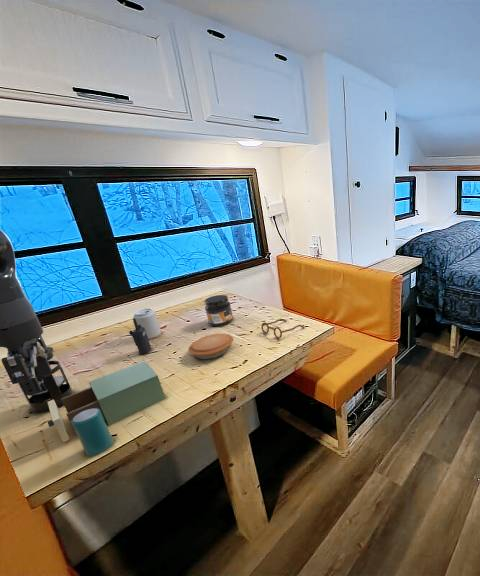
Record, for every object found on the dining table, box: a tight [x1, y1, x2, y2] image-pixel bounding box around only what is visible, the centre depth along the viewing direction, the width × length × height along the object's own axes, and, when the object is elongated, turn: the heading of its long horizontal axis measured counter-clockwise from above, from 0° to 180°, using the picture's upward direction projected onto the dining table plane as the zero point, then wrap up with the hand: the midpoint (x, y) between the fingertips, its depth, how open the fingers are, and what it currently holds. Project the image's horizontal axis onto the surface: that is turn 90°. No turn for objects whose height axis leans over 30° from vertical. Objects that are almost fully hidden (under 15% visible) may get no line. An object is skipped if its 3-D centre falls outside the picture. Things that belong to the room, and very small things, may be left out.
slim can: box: [70, 408, 114, 457], centre depth 75 cm, size 5×5×10 cm
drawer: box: [47, 386, 106, 443], centre depth 84 cm, size 14×11×7 cm
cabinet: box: [88, 360, 166, 426], centre depth 91 cm, size 14×13×9 cm
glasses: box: [261, 318, 305, 340], centre depth 133 cm, size 13×13×5 cm
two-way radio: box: [128, 317, 152, 355], centre depth 117 cm, size 6×4×15 cm
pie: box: [187, 333, 234, 360], centre depth 118 cm, size 16×16×5 cm
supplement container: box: [204, 294, 234, 327], centre depth 141 cm, size 10×10×12 cm
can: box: [132, 308, 162, 340], centre depth 130 cm, size 8×8×12 cm
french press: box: [17, 346, 75, 414], centre depth 89 cm, size 12×9×23 cm
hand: (40, 383), depth 70 cm, fingers open, 8 cm apart
